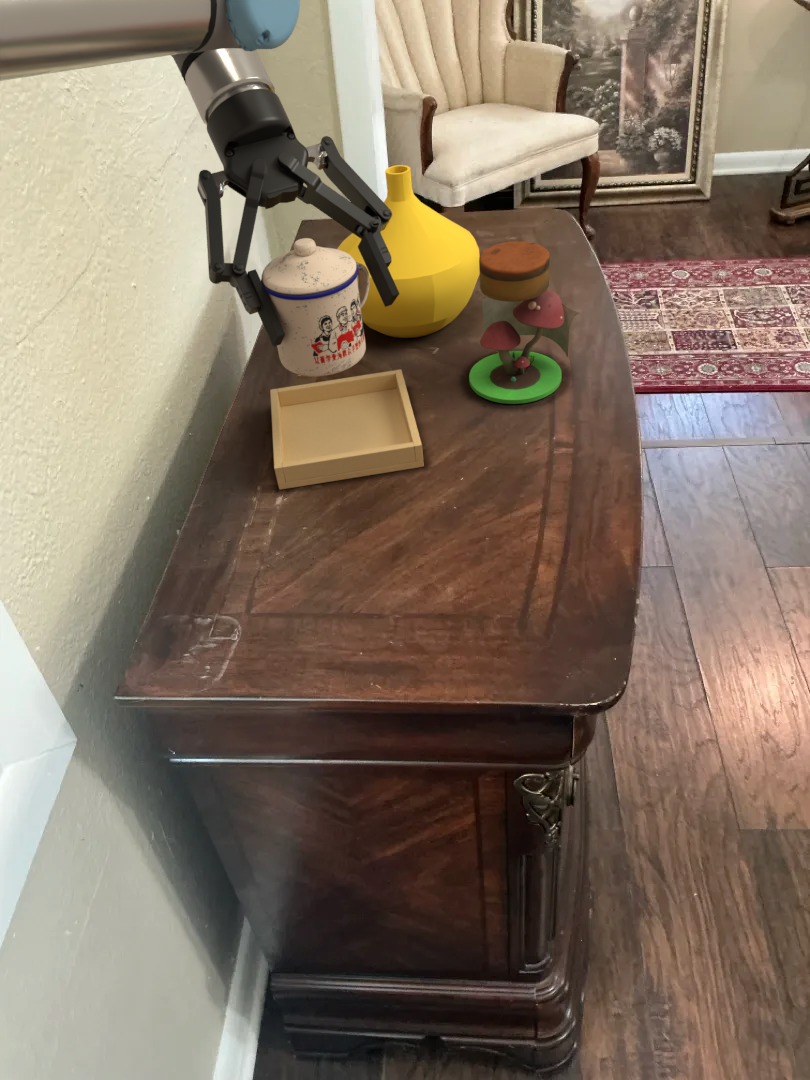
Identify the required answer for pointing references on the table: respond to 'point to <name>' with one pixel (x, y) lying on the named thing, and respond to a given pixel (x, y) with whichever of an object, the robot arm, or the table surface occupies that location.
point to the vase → (419, 265)
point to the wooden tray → (343, 429)
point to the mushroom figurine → (518, 324)
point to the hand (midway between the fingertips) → (337, 320)
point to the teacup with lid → (318, 308)
